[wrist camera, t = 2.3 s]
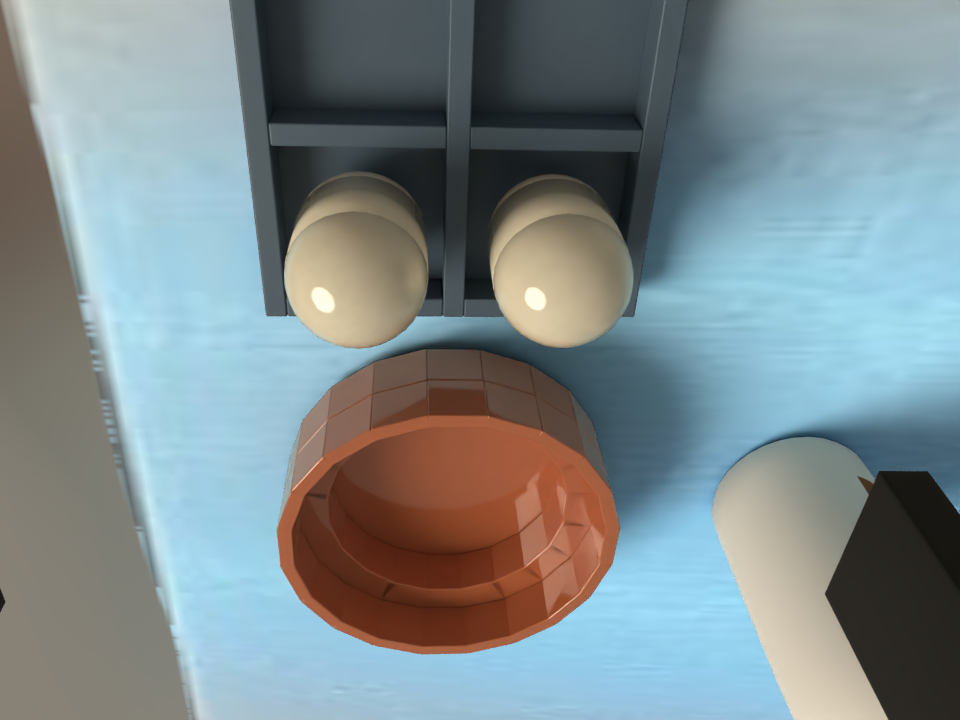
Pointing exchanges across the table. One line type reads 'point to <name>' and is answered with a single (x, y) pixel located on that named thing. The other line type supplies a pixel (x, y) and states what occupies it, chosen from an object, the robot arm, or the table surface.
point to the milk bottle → (798, 567)
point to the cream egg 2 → (558, 261)
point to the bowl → (446, 504)
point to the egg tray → (454, 116)
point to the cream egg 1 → (357, 260)
